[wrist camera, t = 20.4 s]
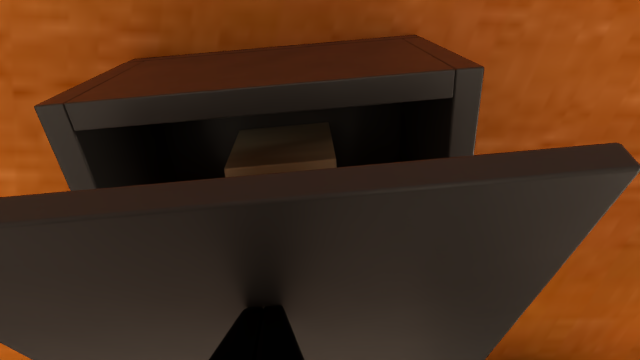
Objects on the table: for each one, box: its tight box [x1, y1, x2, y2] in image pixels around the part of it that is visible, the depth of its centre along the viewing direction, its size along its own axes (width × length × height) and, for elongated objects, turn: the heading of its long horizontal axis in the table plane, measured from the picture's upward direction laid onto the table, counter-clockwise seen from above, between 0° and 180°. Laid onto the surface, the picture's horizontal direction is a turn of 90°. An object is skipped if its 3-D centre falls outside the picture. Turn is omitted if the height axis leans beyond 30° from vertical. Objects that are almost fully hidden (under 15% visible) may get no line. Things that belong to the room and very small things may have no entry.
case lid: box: [0, 143, 640, 360], centre depth 11 cm, size 14×12×1 cm
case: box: [34, 35, 484, 191], centre depth 16 cm, size 14×12×7 cm
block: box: [224, 122, 337, 177], centre depth 16 cm, size 4×4×4 cm
